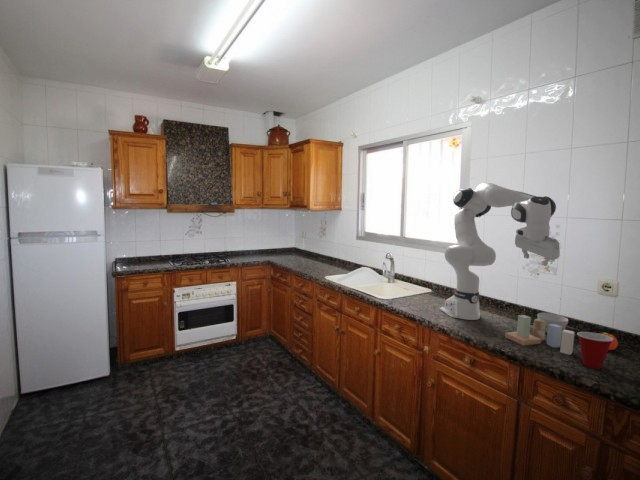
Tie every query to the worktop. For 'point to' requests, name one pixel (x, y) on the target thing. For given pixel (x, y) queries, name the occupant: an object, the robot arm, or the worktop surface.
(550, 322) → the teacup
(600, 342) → the plastic cup
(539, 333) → the beech post
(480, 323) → the worktop surface
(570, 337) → the cream post
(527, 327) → the sage green post
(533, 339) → the terracotta tile
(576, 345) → the worktop surface
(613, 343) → the clementine
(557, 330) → the dusty blue post
